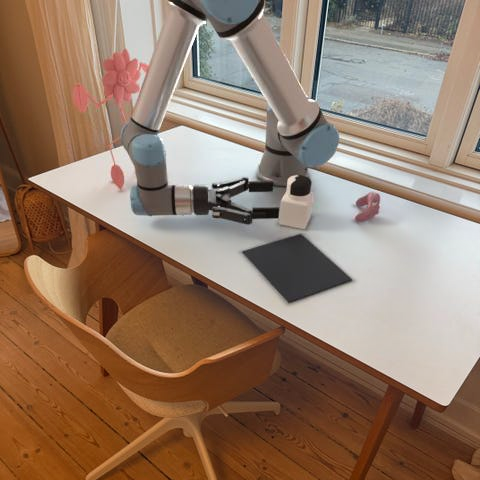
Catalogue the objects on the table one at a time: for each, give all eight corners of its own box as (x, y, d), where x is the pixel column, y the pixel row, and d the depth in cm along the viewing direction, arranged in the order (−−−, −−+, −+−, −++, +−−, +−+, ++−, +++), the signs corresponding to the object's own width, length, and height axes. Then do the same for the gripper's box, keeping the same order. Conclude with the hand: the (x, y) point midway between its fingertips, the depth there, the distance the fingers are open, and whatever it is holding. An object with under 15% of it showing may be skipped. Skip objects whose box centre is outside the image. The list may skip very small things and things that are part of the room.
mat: (300, 235, 120) (300, 233, 119) (351, 280, 106) (352, 279, 106) (242, 252, 114) (242, 250, 113) (288, 303, 100) (288, 301, 100)
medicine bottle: (311, 216, 126) (316, 174, 118) (305, 230, 121) (310, 187, 113) (285, 211, 128) (289, 170, 120) (278, 224, 123) (282, 182, 115)
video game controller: (367, 229, 125) (384, 209, 120) (353, 220, 124) (369, 200, 119) (367, 210, 132) (383, 191, 127) (353, 202, 131) (370, 183, 126)
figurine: (87, 191, 134) (56, 55, 110) (156, 162, 148) (142, 37, 124) (119, 210, 127) (94, 69, 103) (189, 178, 141) (181, 48, 117)
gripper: (194, 190, 130) (270, 189, 131) (192, 240, 112) (280, 238, 113) (193, 164, 125) (271, 163, 126) (191, 212, 107) (282, 211, 108)
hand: (276, 199), depth 120 cm, fingers open, 13 cm apart
